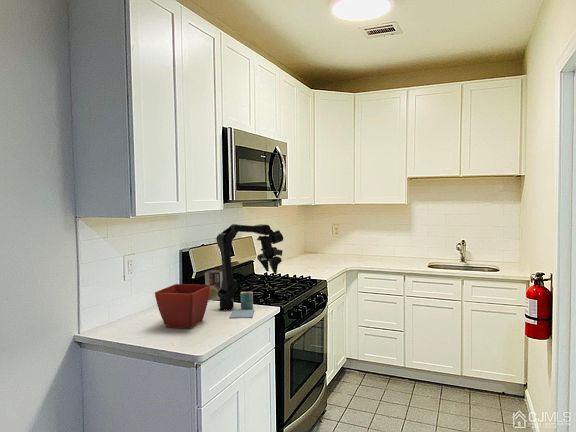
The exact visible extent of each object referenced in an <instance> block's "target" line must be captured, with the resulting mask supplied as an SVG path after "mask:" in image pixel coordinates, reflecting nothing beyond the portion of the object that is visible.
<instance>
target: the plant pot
mask: <svg viewBox="0 0 576 432" xmlns="http://www.w3.org/2000/svg"><path fill="white" fill-rule="evenodd" d="M209 292H210V285H205V284H191V283H190V284H188V283H186V284H185V283H180V284H179V283H175V284H172V285H170V286H167V287H165V288H163V289H160V290H157V291H155V292H154V297H155V302H156V305H157V308H158V312H159V314H160V317H161V319H162V321H163V324H164V326H165V328H175V329H176V328H177V329H192V328H194V327H196V326H197V325H198V324H200V323H201V322H203V320H204V317H205V314H206V311H207V305H208V302H209V300H208V298H209Z"/></svg>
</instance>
